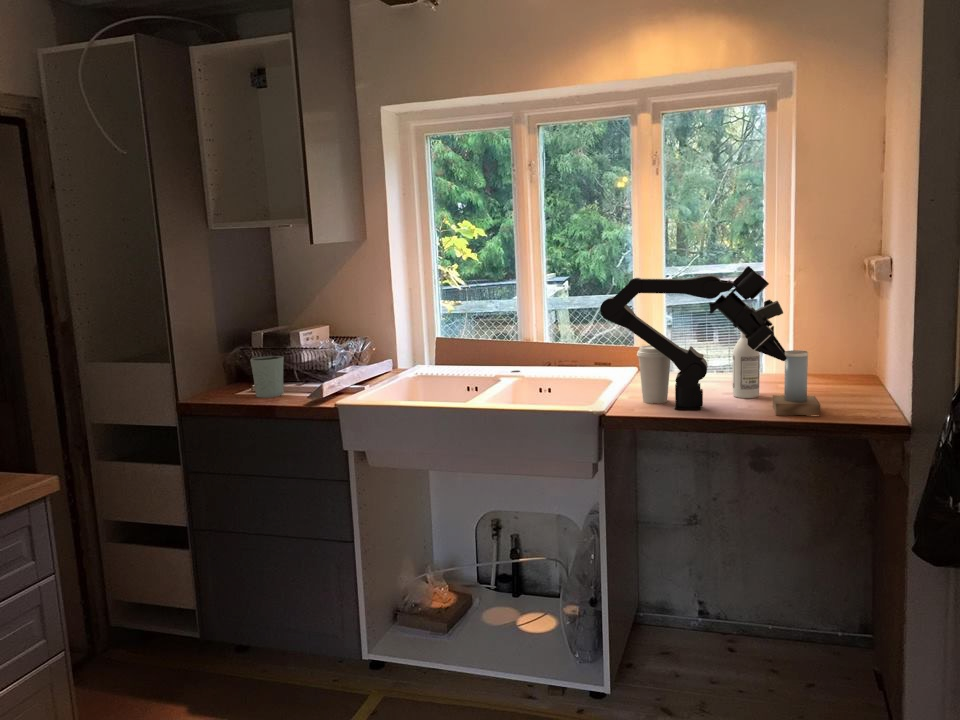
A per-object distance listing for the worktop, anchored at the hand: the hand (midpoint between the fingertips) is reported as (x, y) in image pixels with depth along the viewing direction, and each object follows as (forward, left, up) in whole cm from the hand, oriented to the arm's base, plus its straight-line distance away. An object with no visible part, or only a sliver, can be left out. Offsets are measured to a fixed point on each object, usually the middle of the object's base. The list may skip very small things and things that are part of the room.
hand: (785, 356), depth 192 cm
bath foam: (-8, +17, -14) cm, 24 cm away
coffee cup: (-32, +9, -14) cm, 36 cm away
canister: (+2, -1, -11) cm, 11 cm away
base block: (+3, -1, -14) cm, 14 cm away
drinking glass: (-152, +9, -14) cm, 153 cm away
